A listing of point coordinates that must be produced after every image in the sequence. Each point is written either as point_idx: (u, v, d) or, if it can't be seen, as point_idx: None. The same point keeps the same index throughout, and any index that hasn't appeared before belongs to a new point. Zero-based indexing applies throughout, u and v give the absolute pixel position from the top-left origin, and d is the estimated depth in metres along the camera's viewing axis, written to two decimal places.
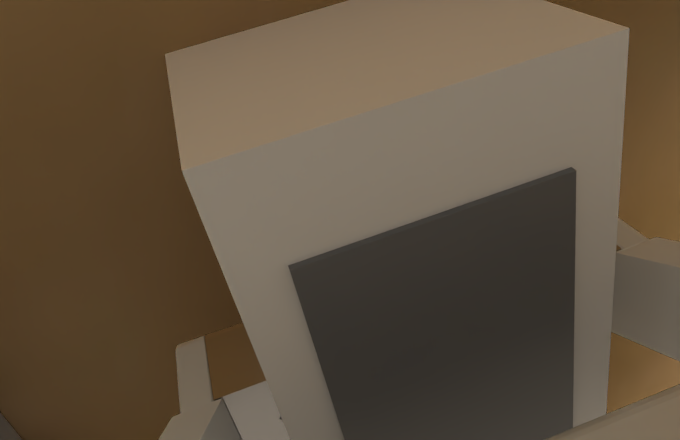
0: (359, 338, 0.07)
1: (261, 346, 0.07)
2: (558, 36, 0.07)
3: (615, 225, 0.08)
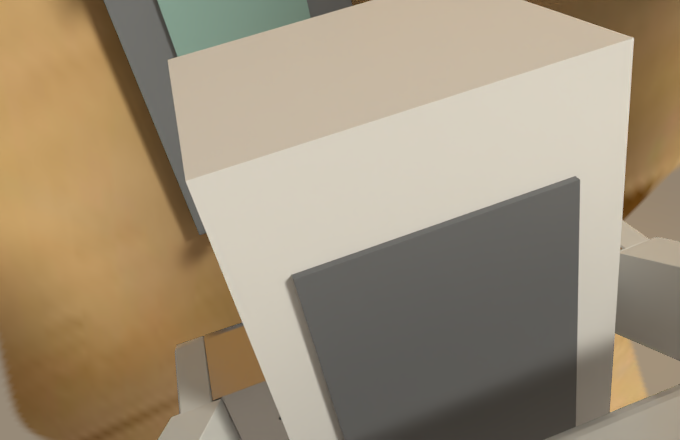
0: (363, 347, 0.07)
1: (264, 355, 0.07)
2: (561, 46, 0.07)
3: (619, 235, 0.08)
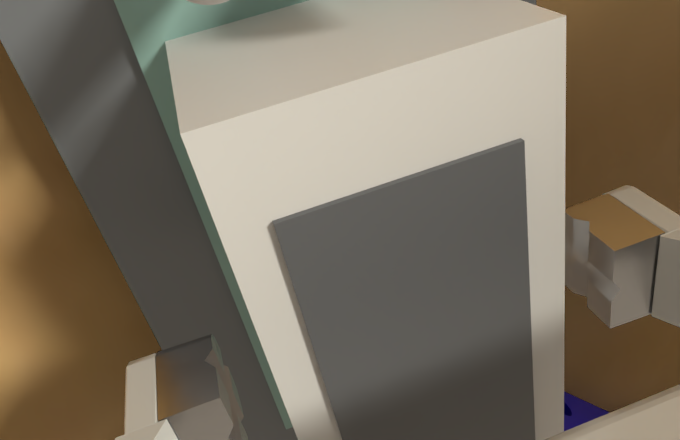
0: (337, 288, 0.09)
1: (249, 294, 0.08)
2: (505, 23, 0.08)
3: (563, 192, 0.09)
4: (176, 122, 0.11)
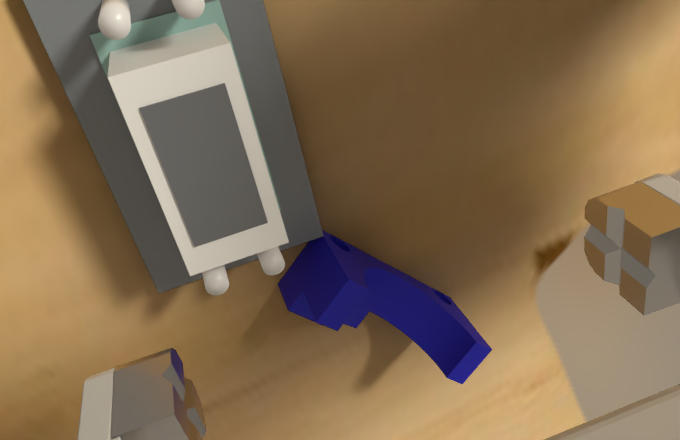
0: (164, 134, 0.25)
1: (133, 134, 0.25)
2: (213, 45, 0.25)
3: None
4: None
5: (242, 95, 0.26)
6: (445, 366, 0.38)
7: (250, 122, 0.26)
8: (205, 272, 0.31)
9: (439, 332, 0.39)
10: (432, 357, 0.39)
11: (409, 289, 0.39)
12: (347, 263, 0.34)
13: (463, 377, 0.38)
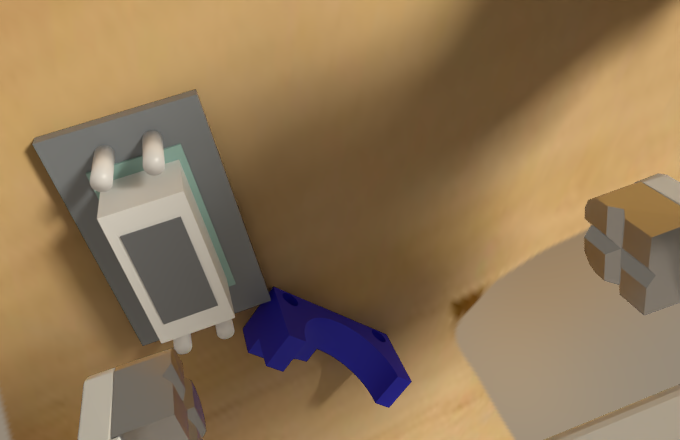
0: (138, 252, 0.35)
1: (116, 253, 0.35)
2: (172, 191, 0.35)
3: (199, 228, 0.36)
4: None
5: (194, 223, 0.36)
6: (375, 394, 0.48)
7: (201, 240, 0.36)
8: None
9: (371, 366, 0.49)
10: (366, 386, 0.49)
11: (348, 332, 0.49)
12: (292, 319, 0.44)
13: (389, 402, 0.48)
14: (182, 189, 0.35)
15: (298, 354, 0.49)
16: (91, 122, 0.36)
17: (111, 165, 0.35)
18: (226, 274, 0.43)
